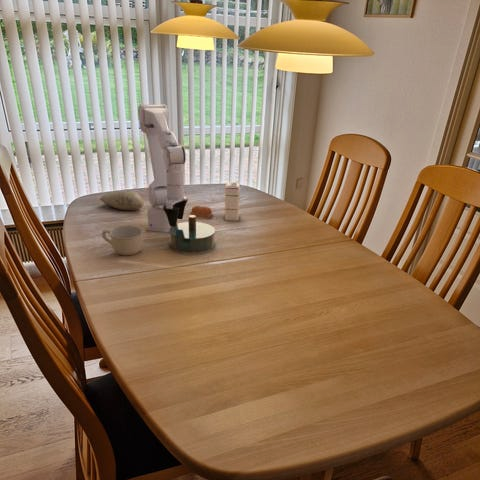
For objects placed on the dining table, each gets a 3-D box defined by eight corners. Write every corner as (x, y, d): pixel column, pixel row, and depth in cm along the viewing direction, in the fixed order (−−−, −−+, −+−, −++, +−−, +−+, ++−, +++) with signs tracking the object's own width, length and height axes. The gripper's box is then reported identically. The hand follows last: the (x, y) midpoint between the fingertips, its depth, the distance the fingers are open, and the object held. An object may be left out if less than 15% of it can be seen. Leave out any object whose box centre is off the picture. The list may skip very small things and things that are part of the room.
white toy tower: (238, 221, 182) (240, 186, 175) (224, 220, 182) (225, 185, 175) (238, 216, 187) (240, 182, 180) (224, 216, 187) (225, 181, 179)
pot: (163, 254, 152) (162, 239, 149) (180, 233, 169) (180, 219, 166) (205, 259, 150) (205, 244, 147) (219, 237, 167) (219, 223, 164)
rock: (132, 214, 181) (98, 207, 190) (151, 209, 190) (117, 202, 199) (131, 196, 178) (96, 189, 187) (150, 192, 186) (116, 185, 195)
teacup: (149, 249, 155) (148, 227, 150) (133, 261, 146) (131, 238, 142) (115, 242, 158) (112, 221, 154) (97, 254, 149) (94, 231, 145)
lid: (163, 238, 151) (162, 221, 148) (177, 222, 164) (176, 206, 161) (209, 243, 149) (209, 226, 146) (219, 227, 162) (219, 211, 159)
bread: (190, 217, 184) (190, 207, 182) (193, 213, 188) (193, 203, 186) (209, 219, 183) (209, 209, 181) (212, 215, 187) (212, 205, 185)
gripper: (180, 190, 142) (181, 230, 149) (192, 179, 154) (192, 216, 161) (159, 188, 143) (161, 228, 150) (172, 177, 155) (174, 214, 162)
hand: (176, 222), depth 156 cm, fingers open, 7 cm apart
